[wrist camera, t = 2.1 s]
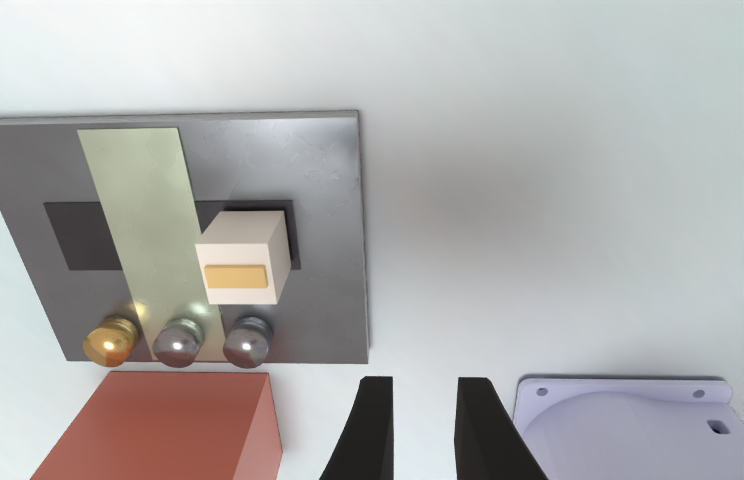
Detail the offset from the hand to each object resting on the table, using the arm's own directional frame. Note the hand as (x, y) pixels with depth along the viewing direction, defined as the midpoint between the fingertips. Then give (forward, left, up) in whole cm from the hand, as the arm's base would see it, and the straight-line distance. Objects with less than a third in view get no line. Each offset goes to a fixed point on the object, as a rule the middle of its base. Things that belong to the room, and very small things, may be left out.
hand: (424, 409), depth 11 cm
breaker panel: (+9, +1, -9) cm, 13 cm away
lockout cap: (+11, +11, -9) cm, 18 cm away
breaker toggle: (+6, 0, -8) cm, 10 cm away
